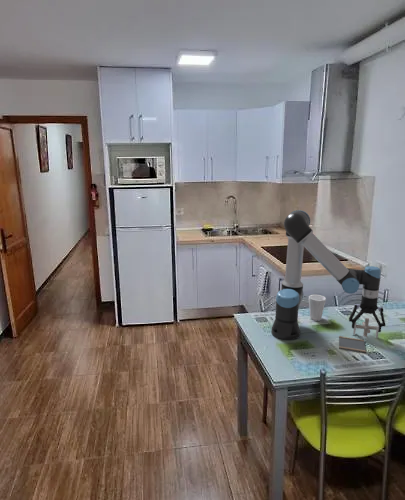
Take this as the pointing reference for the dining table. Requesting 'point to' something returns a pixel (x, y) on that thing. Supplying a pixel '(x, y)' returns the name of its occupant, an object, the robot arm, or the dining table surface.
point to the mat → (352, 344)
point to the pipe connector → (366, 327)
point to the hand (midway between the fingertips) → (365, 335)
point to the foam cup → (316, 306)
